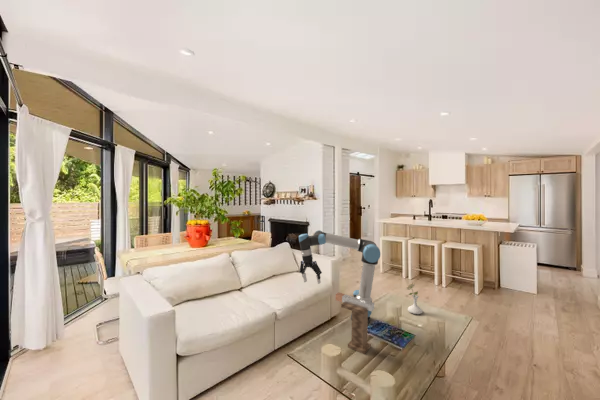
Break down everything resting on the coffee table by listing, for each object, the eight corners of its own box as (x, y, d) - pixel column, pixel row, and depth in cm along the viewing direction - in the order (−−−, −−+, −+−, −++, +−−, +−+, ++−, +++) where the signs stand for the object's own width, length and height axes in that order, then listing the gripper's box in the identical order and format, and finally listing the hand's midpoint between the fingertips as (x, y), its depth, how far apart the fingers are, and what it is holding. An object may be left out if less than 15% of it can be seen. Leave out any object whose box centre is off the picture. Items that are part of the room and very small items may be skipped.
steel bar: (335, 300, 185) (335, 294, 184) (338, 298, 188) (338, 292, 187) (371, 311, 169) (371, 305, 168) (374, 308, 172) (374, 302, 172)
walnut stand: (341, 344, 181) (341, 304, 179) (347, 337, 189) (348, 298, 186) (364, 354, 170) (365, 311, 168) (370, 346, 178) (371, 305, 176)
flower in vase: (418, 308, 229) (419, 280, 227) (425, 315, 218) (426, 285, 216) (403, 308, 229) (404, 280, 227) (409, 315, 218) (410, 285, 216)
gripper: (291, 255, 205) (296, 282, 206) (316, 256, 188) (322, 286, 189) (298, 253, 211) (303, 279, 211) (323, 253, 194) (328, 282, 194)
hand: (312, 282), depth 200 cm, fingers open, 13 cm apart
